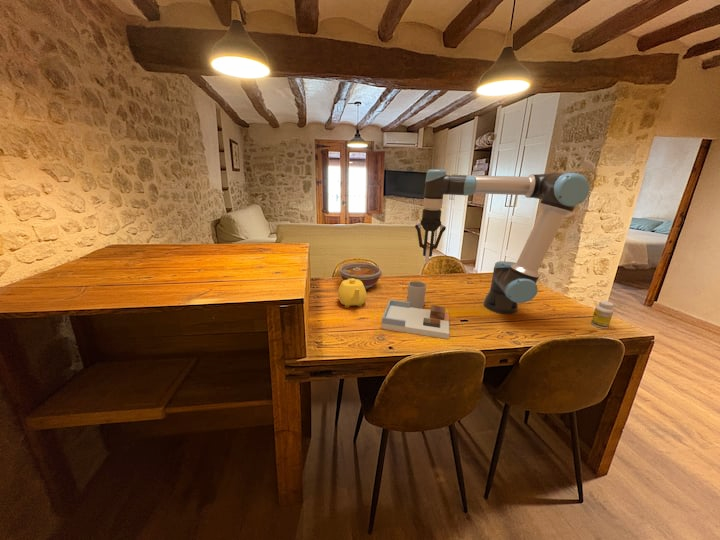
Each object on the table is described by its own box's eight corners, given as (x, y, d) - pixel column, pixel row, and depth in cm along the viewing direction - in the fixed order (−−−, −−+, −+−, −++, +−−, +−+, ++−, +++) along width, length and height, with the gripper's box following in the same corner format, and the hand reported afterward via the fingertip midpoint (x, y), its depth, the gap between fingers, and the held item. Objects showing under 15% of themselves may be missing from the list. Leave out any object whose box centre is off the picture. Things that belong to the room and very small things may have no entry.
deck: (448, 317, 136) (449, 307, 134) (448, 339, 118) (450, 328, 117) (389, 309, 142) (389, 299, 140) (381, 328, 125) (382, 317, 123)
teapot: (361, 295, 157) (361, 272, 152) (371, 312, 138) (373, 287, 134) (335, 297, 153) (335, 273, 149) (342, 315, 135) (343, 289, 131)
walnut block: (444, 314, 133) (445, 306, 132) (444, 320, 128) (445, 312, 127) (430, 312, 135) (431, 305, 134) (429, 318, 129) (430, 310, 128)
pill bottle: (591, 320, 137) (598, 298, 133) (608, 325, 133) (615, 302, 129) (590, 325, 132) (597, 302, 128) (607, 330, 128) (615, 307, 125)
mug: (425, 308, 143) (428, 287, 140) (408, 308, 143) (410, 287, 140) (420, 298, 155) (422, 278, 151) (404, 298, 154) (405, 278, 151)
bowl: (335, 280, 176) (335, 264, 173) (372, 277, 183) (372, 261, 180) (345, 295, 156) (345, 277, 153) (386, 291, 162) (387, 274, 159)
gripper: (448, 208, 125) (441, 262, 133) (417, 206, 128) (412, 259, 136) (448, 211, 118) (441, 267, 126) (415, 209, 121) (410, 264, 129)
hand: (426, 263), depth 131 cm, fingers closed
